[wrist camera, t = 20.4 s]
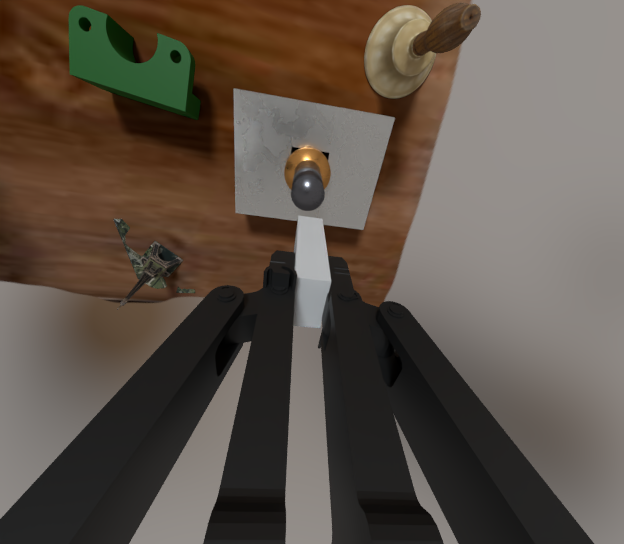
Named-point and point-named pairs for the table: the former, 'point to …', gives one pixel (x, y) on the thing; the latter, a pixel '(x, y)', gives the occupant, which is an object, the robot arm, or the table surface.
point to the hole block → (306, 133)
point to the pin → (307, 177)
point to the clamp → (131, 64)
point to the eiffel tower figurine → (150, 264)
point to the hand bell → (413, 45)
